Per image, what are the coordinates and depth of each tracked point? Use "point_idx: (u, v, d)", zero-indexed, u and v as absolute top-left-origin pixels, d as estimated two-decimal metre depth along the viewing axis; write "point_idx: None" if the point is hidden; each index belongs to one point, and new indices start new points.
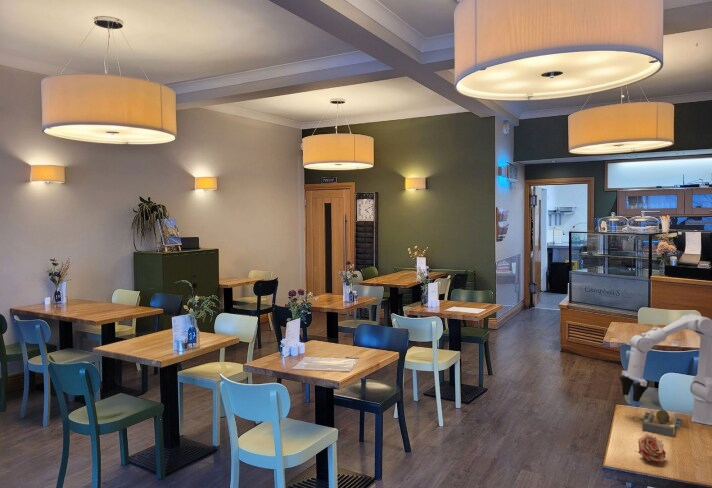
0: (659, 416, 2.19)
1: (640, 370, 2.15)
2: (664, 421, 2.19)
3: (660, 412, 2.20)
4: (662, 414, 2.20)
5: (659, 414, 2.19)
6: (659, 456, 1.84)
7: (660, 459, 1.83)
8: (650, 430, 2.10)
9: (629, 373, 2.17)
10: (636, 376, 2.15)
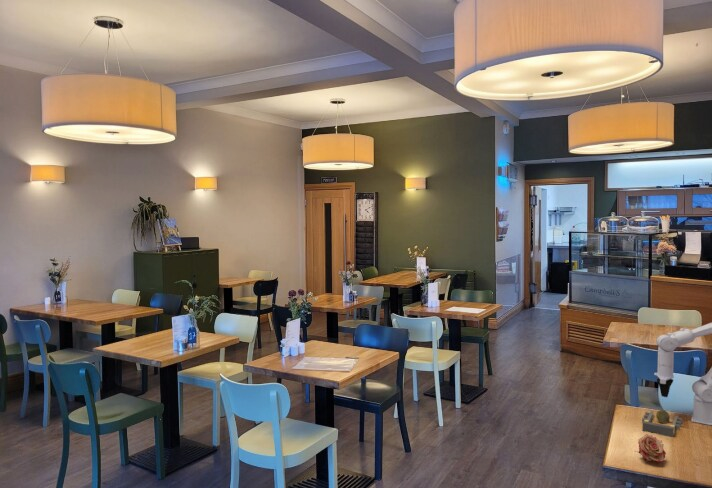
0: (659, 416, 2.19)
1: (664, 369, 2.21)
2: (664, 421, 2.19)
3: (660, 412, 2.20)
4: (662, 414, 2.20)
5: (659, 414, 2.19)
6: (659, 456, 1.84)
7: (660, 459, 1.83)
8: (650, 430, 2.10)
9: (657, 372, 2.25)
10: (662, 374, 2.22)
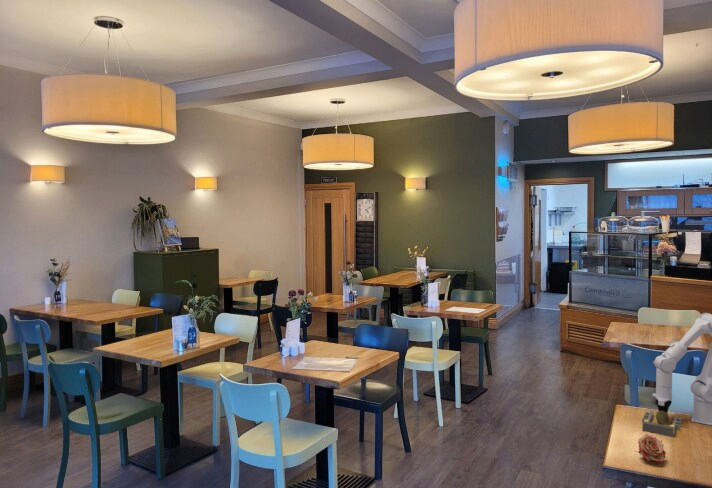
0: (658, 417, 2.18)
1: (663, 390, 2.19)
2: (663, 422, 2.18)
3: (659, 413, 2.19)
4: (662, 415, 2.19)
5: (658, 415, 2.19)
6: (659, 456, 1.84)
7: (660, 459, 1.83)
8: (650, 430, 2.10)
9: None
10: (660, 396, 2.20)
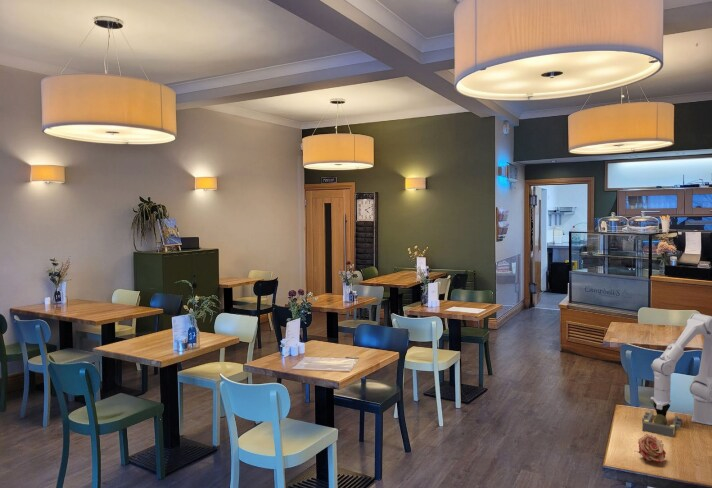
0: (656, 420, 2.15)
1: (661, 393, 2.15)
2: None
3: (657, 416, 2.15)
4: (660, 419, 2.15)
5: (656, 418, 2.15)
6: (659, 456, 1.84)
7: (660, 459, 1.83)
8: (650, 430, 2.10)
9: (654, 396, 2.18)
10: (658, 399, 2.16)
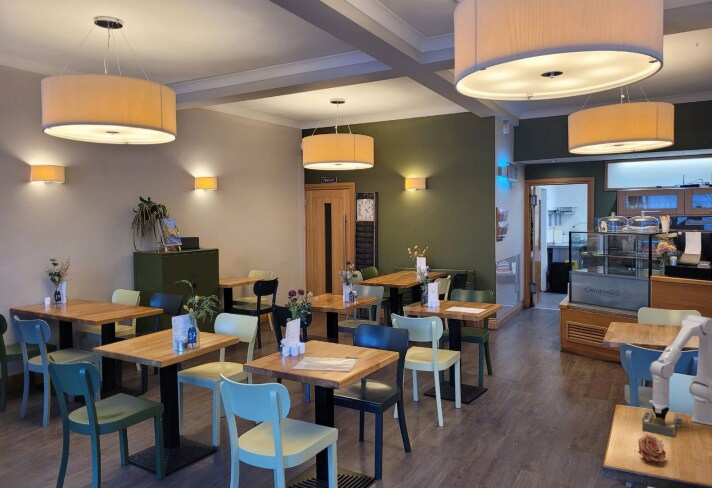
0: None
1: (660, 397, 2.11)
2: None
3: (656, 419, 2.12)
4: (659, 422, 2.12)
5: (655, 421, 2.12)
6: (659, 456, 1.84)
7: (660, 459, 1.83)
8: (650, 430, 2.10)
9: None
10: (657, 403, 2.12)
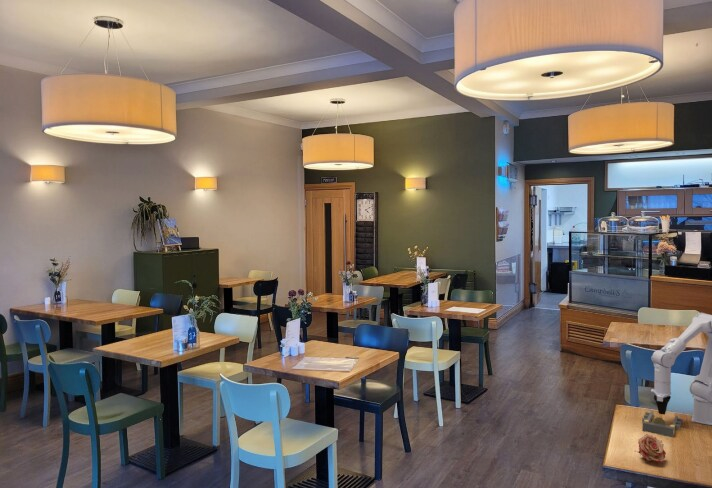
0: None
1: (661, 385, 2.14)
2: None
3: (656, 419, 2.12)
4: (658, 422, 2.12)
5: (655, 421, 2.12)
6: (659, 456, 1.84)
7: (660, 459, 1.83)
8: (650, 430, 2.10)
9: (654, 388, 2.18)
10: (659, 391, 2.15)
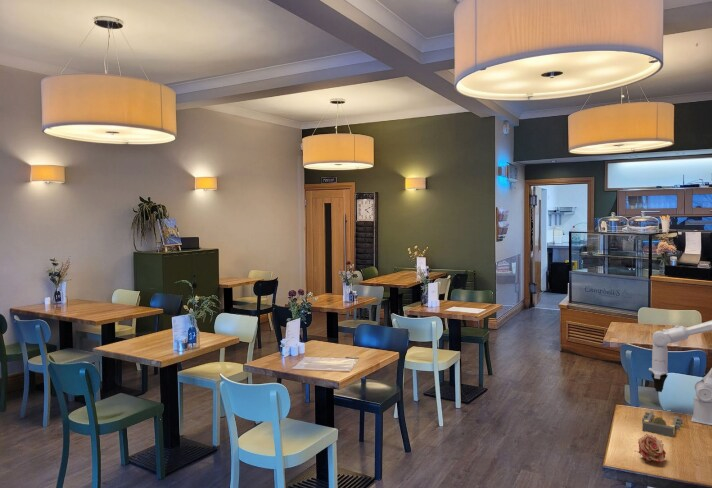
0: None
1: (659, 364, 2.25)
2: None
3: (656, 419, 2.12)
4: (658, 422, 2.12)
5: (655, 421, 2.12)
6: (659, 456, 1.84)
7: (660, 459, 1.83)
8: (650, 430, 2.10)
9: (652, 367, 2.29)
10: (656, 370, 2.26)
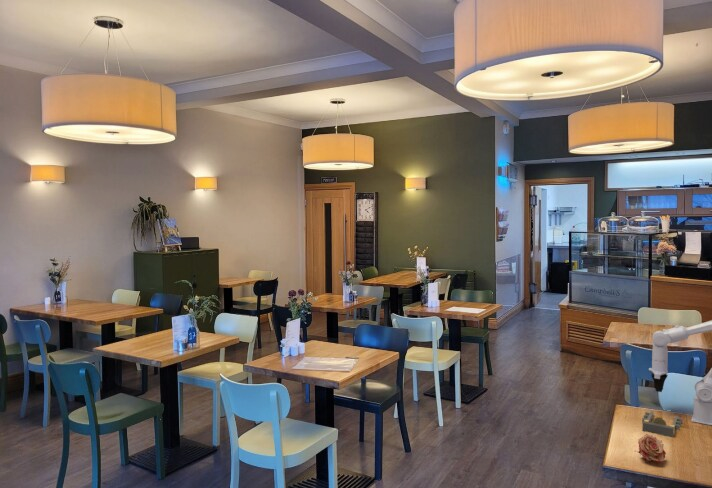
0: None
1: (659, 364, 2.25)
2: None
3: (656, 419, 2.12)
4: (658, 422, 2.12)
5: (655, 421, 2.12)
6: (659, 456, 1.84)
7: (660, 459, 1.83)
8: (650, 430, 2.10)
9: (652, 367, 2.29)
10: (656, 370, 2.26)
